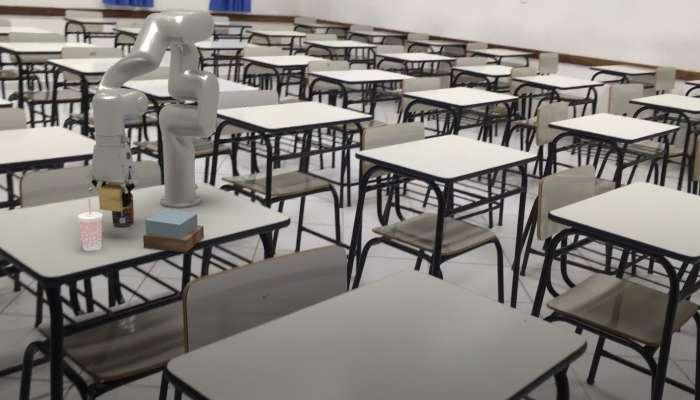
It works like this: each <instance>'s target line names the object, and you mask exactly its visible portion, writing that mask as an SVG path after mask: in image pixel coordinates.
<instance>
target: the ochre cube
mask: <svg viewBox="0 0 700 400" xmlns="http://www.w3.org/2000/svg"><path fill="white" fill-rule="evenodd" d="M97 192H99V193H98V203H99V204H98V205H99V210H102V211H111V212H112V211H119V212H121V211H122V210H124V209H125V208H127V207H128V206H130V205H131V204H130V205H128V206H127V207H123V199H122V193H124V191H123V189H122V187H121V184H120V183H112V182H106V184H105V185H103V186H102V187H100V188H98V191H97Z"/></svg>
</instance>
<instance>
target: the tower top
mask: <svg viewBox="0 0 700 400" xmlns="http://www.w3.org/2000/svg"><path fill="white" fill-rule="evenodd" d="M198 225H199V224H198V213H197V212H196V213H194V212H188V211H180V210H172V209H167V208H164V209H163V210H161V211H159V212H157V213H155V214H153V215H151V216H150V217H148V218H146V219H145V234H148V235H155V236H162V237H169V238H175V239H181V238H182V237H184V236H185V235H187V234H188V233H190V232H191V231H193V230H194V229H196V228H197V227H198Z"/></svg>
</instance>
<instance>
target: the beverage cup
mask: <svg viewBox="0 0 700 400" xmlns="http://www.w3.org/2000/svg"><path fill="white" fill-rule="evenodd" d="M87 198H88V199H87V200H88V201H87V202H88V211H86V212H82V213H79V214H78V215H77V219H78V221H79V228H80V236H81V242H82V249H83V250H84V251H86V252H92V251H93V252H94V251H98V250H101V248H103V247H102V246H103V245H102V244H103V243H102V239H103V235H102V234H103V233H102V229H103V228H102V227H103V224H102V223H103V222H102V221H103V218H104V217H103V213H102V212H99V211H92V207H91V196H88V197H87Z"/></svg>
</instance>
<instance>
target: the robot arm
mask: <svg viewBox="0 0 700 400" xmlns="http://www.w3.org/2000/svg"><path fill="white" fill-rule="evenodd" d="M214 20H215V19H214V18H213V16H212V14H211V13H210V12H208V11H205V10H201V9H200V10H198V9H183V8H167V9H164V10H161V11H160V12H153V13H151V14H149V15H147V17H145V20H144V21H143V24H142V26H141V28H140V30H139V32H138V34H137V37H136V40H135V41H134V44H133V46H132V48H131V50H130V51H129V53H128V54H127V55H125V56H123V57H121V58H120V59H119V60H117V61H116V62H115V63H113V65H111V66H110V67H109V68H108V69H107V70H106V71H105V72H104V74H103V75H102V77H101V79H100V82H99V83H98V85H97V87H96V90H95V93H94V95H93V97H92V110H93V111H92V112H93V125H94V137H95V144H94V146H93V151H92V169H90V171H89V172H88V173H87V174H86V176H85V177H86V178H87V179H88V181H90V182H91V184H92V185H93V186H94V187H95V190H96V191H97V192H98V188H100V187H102V186H103V185H105V184H107V183H109V182H112V183H120V184H121V187H122V189H123V191H124V193H122V199H123V207H127V206H128V205H130V204H131V193H132V191H133V189H135V188H136V187H137V185H139V184H140V183H141V181H142V179H141V177H139V175H138V174H137V173H136V172H135V165H134V159H133V155H132V151H131V147H130V145H129V143H130V141H131V138H130V137H127V134H126V127H125V119H135V118H139V117H141V116H143V115H144V114H145V113H146V112H147V110H148V108H149V103H150V102H149V98H148V97H147V95H146V94H145V92H143V91H140V90H138V89H133V88H124V87H123V85H125V84H127V82H129V81H131V80H133V79H135V78H138V77H141V76H144V75H146V74H149V73H153V72H154V71H156V70H158V69H159V67H160V65H161V63H162V61H163V58H164V55H165V54H166V51H167V49H168V47H169V50H170V60H169V62H170V63H169V71H168V80H167V92H168V95H169V96H170V97H171V98H173V99H175V100H180V101H188V102H197V105H190V104H180V103H170V104H166V105H165V106H163V107H162V108H161V110H160V111H159V115H158V124H159V128H160V133H161V136H162V145H163V146H162V147H163V175H164V179H163V180H164V182H163V183H164V195H163V196H161V197H160V199H159V203H160V204H161V205H162V206H165V207H168V208H173V209H174V208H175V209H176V208H177V209H178V208H179V209H180V208H181V209H183V208H190V207H195V206H197V205H199V204H200V203H201V197H200V196H199V195H197V194H196V190H197V189H198V188H199V185H198V184H197V183H196V166H195V165H196V164H195V163H196V161H195V160H196V158H195V155H196V154H195V153H196V152H195V145H194V143H193V140H192V138H200V139H206V138H209V137H211V136H213V134H214V132H215V128H216V124H217V117H218V116H217V114H218V108H219V107H218V106H219V98H220V83H219V79H218V77H217V75H215V73H213V72H211V71H208V70H199V61H200V53H199V50H198V47H197V45H196V44H197V43H200V42H204V41H207V40H208V39H210V38H211V37H212V35H213V34H214V32H215V21H214ZM122 87H123V88H122ZM191 137H192V138H191ZM127 143H128V144H127ZM130 180H132V182H131V181H130ZM98 194H99V192H98Z"/></svg>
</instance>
